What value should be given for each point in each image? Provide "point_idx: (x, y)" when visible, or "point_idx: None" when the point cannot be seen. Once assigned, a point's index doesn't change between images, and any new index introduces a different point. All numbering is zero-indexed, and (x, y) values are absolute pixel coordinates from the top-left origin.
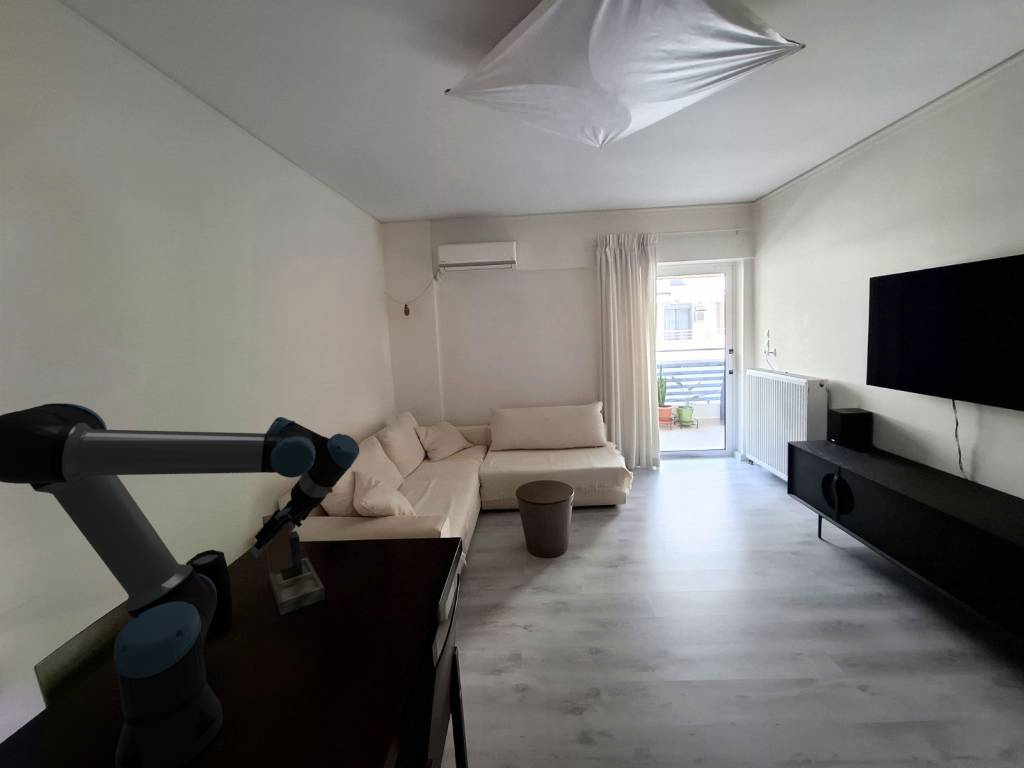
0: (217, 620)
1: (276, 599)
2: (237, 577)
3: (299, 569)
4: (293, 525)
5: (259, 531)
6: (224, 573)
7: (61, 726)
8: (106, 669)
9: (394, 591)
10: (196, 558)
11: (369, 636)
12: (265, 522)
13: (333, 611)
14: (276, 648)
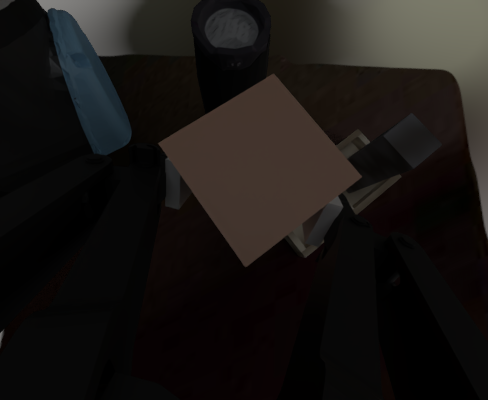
0: None
1: None
2: (352, 87)
3: (355, 186)
4: (318, 237)
5: (40, 178)
6: (230, 95)
7: None
8: (172, 57)
9: None
10: (238, 6)
11: (200, 380)
12: (168, 146)
13: (265, 286)
14: (187, 238)
